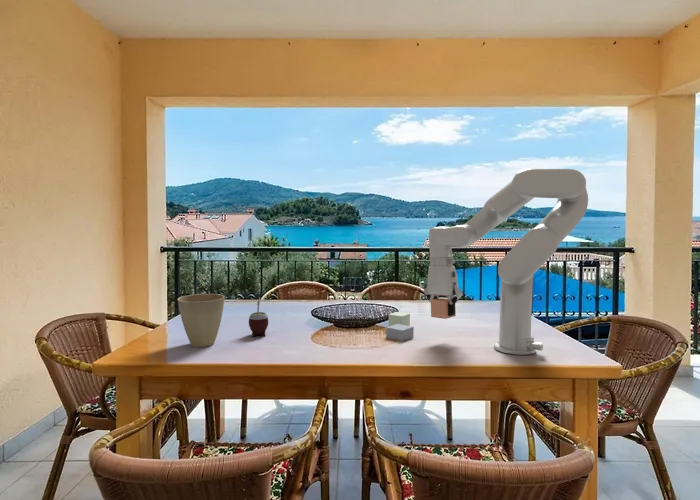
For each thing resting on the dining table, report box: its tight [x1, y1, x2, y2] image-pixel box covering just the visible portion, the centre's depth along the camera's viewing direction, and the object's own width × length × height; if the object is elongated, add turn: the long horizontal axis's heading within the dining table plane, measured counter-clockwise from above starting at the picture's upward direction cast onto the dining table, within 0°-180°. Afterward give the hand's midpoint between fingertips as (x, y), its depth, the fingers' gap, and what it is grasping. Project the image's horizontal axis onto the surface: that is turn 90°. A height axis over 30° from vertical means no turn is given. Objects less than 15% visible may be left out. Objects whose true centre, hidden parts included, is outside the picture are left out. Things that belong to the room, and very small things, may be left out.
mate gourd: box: [248, 296, 269, 338], centre depth 155 cm, size 8×8×15 cm
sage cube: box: [387, 311, 411, 327], centre depth 166 cm, size 6×6×6 cm
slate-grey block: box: [385, 324, 415, 342], centre depth 154 cm, size 7×7×4 cm
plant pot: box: [177, 293, 225, 348], centre depth 144 cm, size 15×15×16 cm
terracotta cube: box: [429, 297, 457, 320], centre depth 149 cm, size 6×6×6 cm
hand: (443, 313), depth 149 cm, fingers closed on terracotta cube, 6 cm apart
